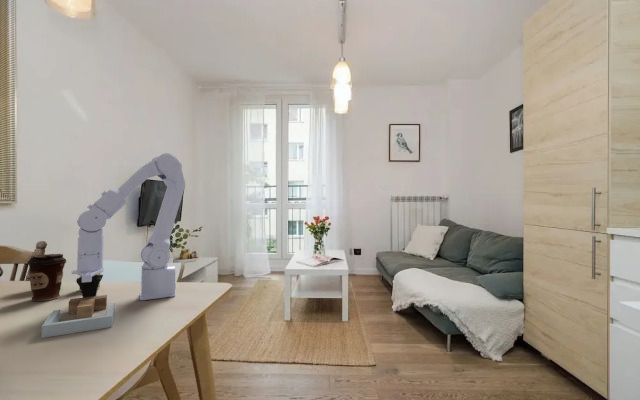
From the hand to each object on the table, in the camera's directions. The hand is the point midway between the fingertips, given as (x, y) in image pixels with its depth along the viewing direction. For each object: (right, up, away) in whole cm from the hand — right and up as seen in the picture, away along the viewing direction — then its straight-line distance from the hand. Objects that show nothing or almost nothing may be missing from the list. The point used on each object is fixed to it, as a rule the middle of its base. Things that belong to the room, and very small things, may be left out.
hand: (89, 302), depth 86 cm
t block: (+3, -1, -5) cm, 6 cm away
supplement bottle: (-12, -1, +17) cm, 21 cm away
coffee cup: (-18, -1, +7) cm, 19 cm away
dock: (+8, -1, -13) cm, 15 cm away
